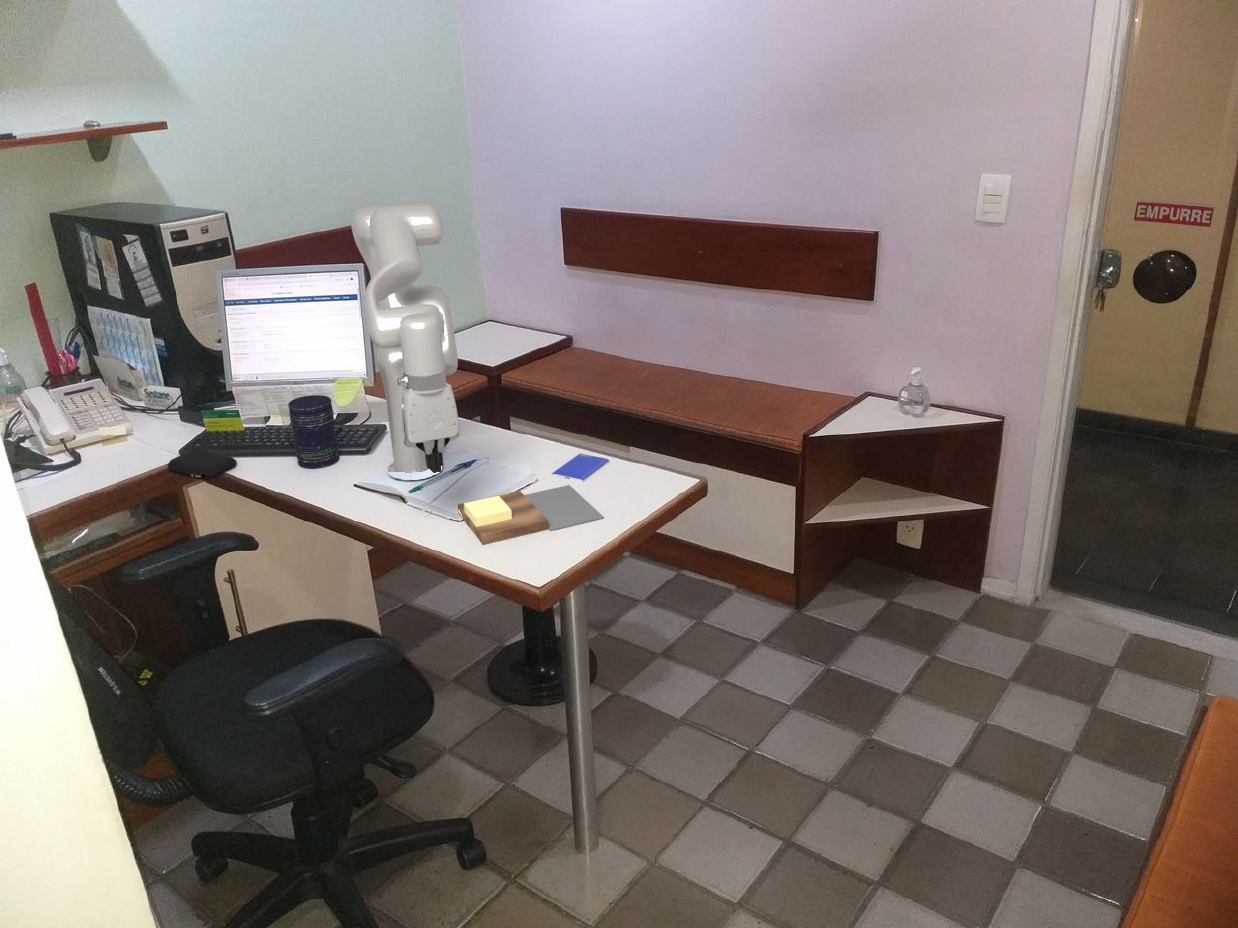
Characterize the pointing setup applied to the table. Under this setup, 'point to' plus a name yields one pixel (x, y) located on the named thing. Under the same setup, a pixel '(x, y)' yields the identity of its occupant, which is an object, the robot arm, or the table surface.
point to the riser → (510, 520)
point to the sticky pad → (487, 511)
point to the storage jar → (314, 431)
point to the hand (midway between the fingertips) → (435, 470)
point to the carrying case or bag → (202, 464)
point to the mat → (563, 507)
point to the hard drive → (580, 468)
